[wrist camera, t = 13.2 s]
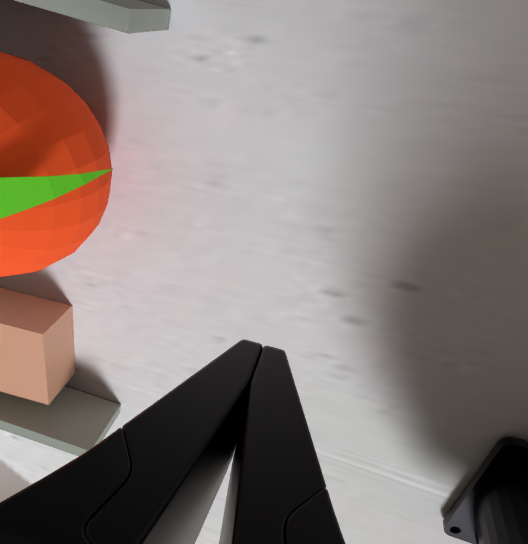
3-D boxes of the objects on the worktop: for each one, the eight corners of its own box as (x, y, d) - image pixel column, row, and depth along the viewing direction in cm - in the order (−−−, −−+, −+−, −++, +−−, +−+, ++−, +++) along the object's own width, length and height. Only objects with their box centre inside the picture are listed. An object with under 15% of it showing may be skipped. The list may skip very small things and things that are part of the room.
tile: (77, 369, 24) (48, 404, 22) (3, 349, 25) (-32, 382, 23) (74, 303, 23) (42, 334, 20) (-6, 282, 23) (-46, 311, 21)
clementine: (147, 25, 16) (6, 34, 10) (188, 223, 19) (99, 324, 13) (-55, 54, 18) (-278, 78, 12) (12, 231, 21) (-139, 322, 15)
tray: (119, 413, 25) (89, 459, 22) (-34, 361, 25) (-81, 401, 23) (170, 9, 16) (130, 9, 13) (-70, -60, 16) (-155, -73, 14)
